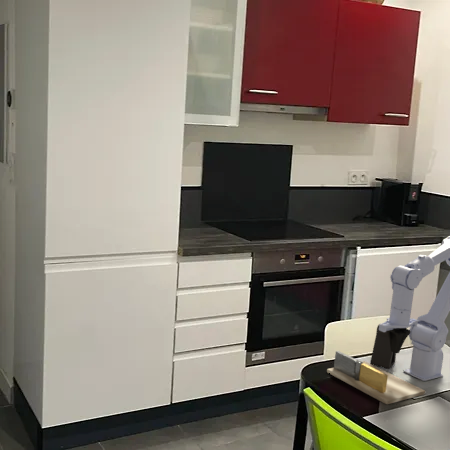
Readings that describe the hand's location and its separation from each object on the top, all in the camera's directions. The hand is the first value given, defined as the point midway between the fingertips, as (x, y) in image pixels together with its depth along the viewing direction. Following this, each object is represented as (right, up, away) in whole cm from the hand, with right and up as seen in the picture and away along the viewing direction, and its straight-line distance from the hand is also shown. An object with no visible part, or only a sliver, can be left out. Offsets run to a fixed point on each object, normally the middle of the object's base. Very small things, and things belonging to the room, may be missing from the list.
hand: (394, 352), depth 189 cm
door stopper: (+1, -7, +17) cm, 18 cm away
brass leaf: (-8, -9, -6) cm, 13 cm away
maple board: (-6, -9, 0) cm, 11 cm away
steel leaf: (-14, -7, +2) cm, 15 cm away
